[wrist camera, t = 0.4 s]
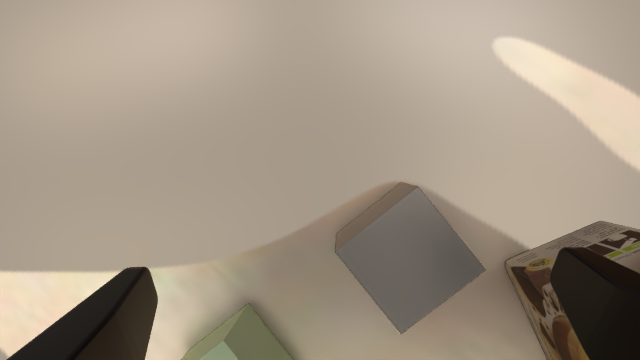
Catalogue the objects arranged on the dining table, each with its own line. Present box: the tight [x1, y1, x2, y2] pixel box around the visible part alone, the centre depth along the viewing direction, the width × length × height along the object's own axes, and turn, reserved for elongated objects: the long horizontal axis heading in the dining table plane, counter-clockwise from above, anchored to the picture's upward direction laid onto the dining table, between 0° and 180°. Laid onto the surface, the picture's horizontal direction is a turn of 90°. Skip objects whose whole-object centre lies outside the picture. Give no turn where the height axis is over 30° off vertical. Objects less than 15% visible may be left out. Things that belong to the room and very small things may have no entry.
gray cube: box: [335, 182, 486, 334], centre depth 20 cm, size 5×5×5 cm
